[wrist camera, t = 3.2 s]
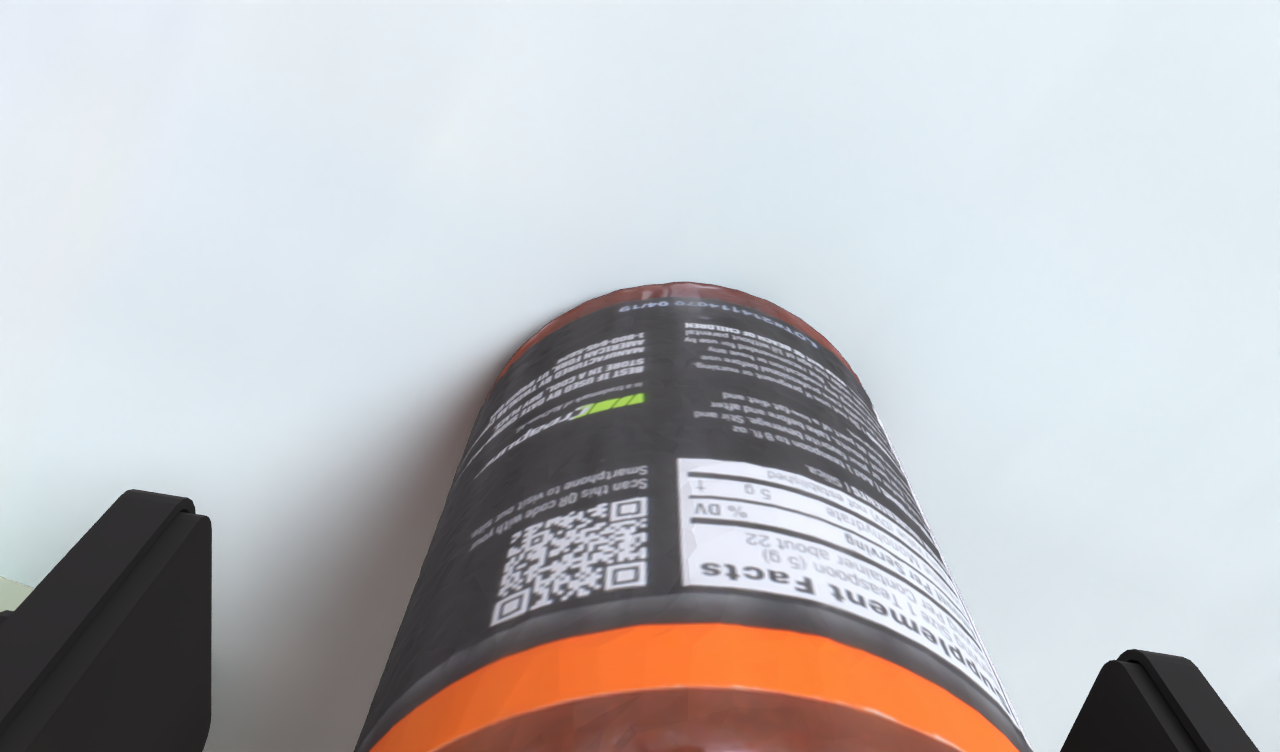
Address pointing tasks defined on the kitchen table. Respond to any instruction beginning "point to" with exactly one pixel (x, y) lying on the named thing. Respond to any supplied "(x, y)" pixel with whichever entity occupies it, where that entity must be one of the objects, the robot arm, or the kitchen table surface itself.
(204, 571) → the robot arm
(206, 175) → the kitchen table surface
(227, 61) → the kitchen table surface
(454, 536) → the supplement bottle
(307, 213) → the kitchen table surface
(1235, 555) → the kitchen table surface
